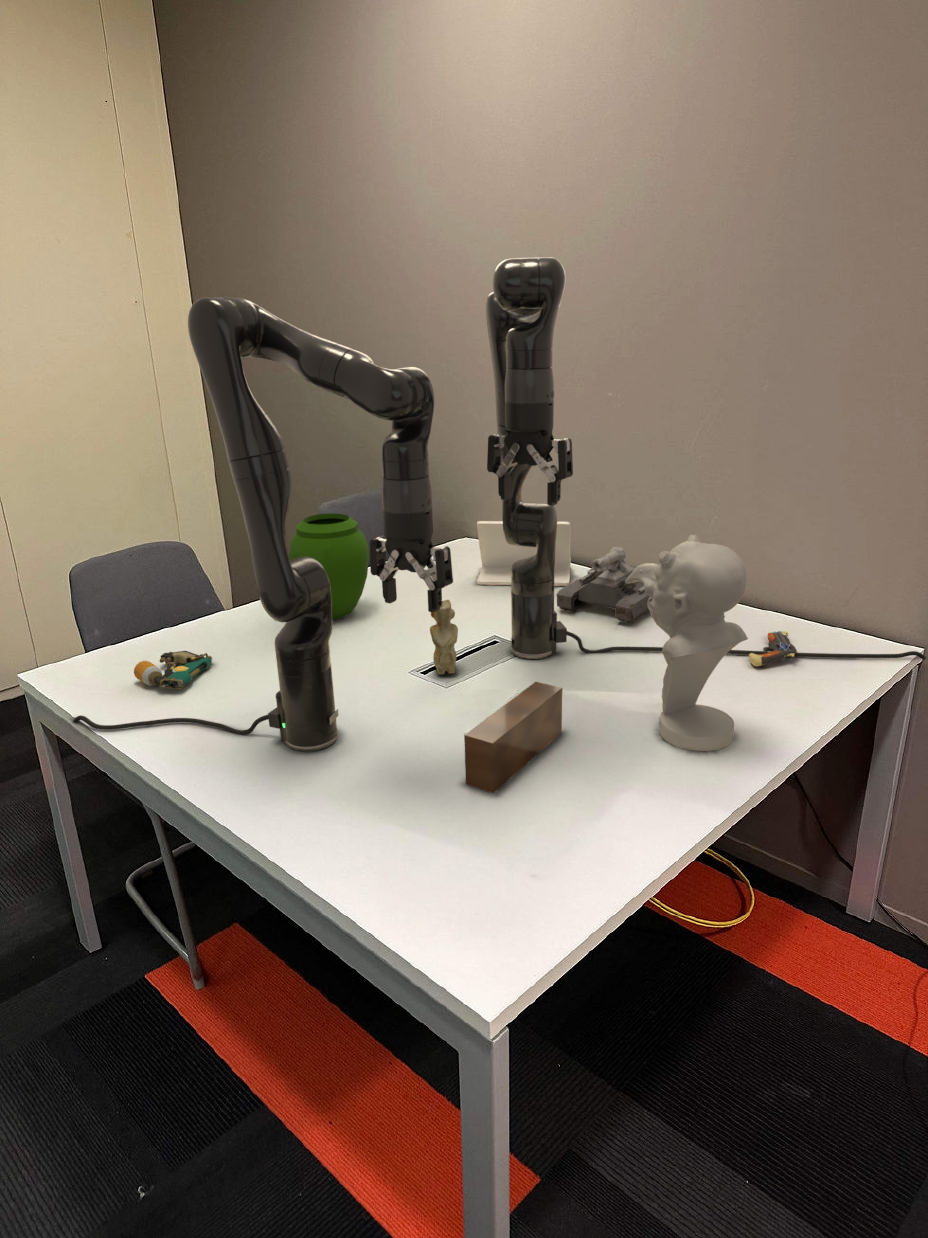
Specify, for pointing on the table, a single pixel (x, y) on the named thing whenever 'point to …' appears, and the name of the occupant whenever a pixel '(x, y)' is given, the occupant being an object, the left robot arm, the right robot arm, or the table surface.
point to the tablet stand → (517, 554)
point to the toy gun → (774, 649)
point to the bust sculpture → (694, 634)
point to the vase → (335, 556)
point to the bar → (512, 736)
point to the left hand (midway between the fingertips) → (412, 606)
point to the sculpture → (444, 638)
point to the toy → (607, 589)
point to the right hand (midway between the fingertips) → (529, 502)
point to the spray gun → (172, 669)
